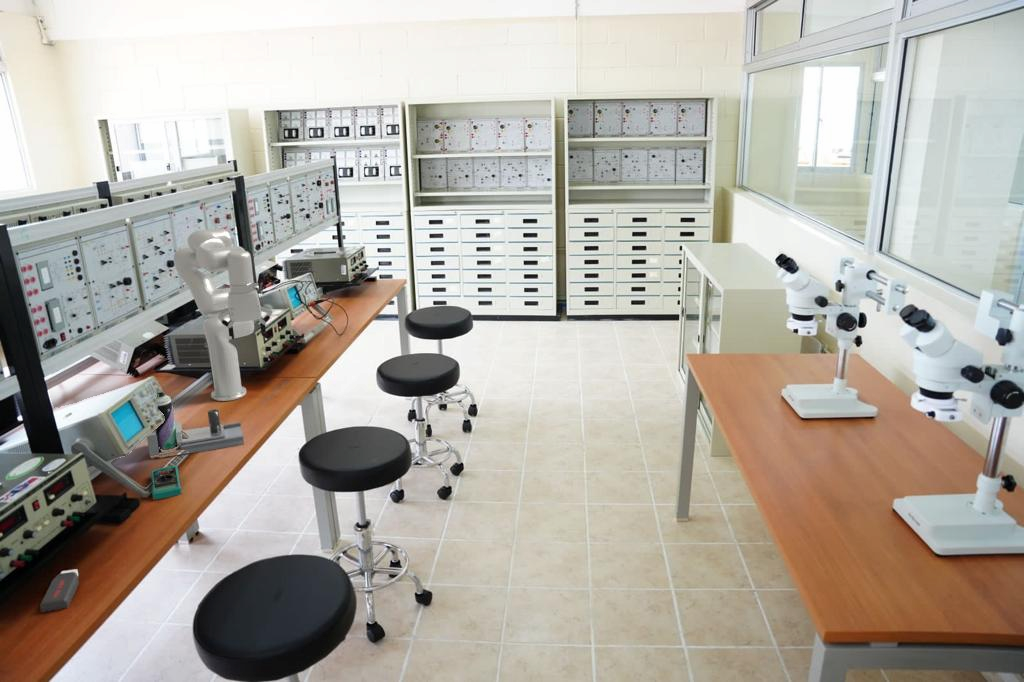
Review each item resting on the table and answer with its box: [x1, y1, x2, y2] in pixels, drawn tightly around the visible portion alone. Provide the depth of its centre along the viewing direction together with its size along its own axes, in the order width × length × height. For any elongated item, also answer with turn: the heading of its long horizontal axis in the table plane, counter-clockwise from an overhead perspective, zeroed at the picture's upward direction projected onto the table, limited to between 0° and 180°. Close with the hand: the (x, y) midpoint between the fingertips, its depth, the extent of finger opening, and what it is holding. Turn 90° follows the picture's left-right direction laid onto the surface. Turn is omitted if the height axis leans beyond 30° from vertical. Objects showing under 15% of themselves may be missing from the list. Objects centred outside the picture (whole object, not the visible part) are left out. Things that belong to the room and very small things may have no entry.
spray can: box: [155, 390, 178, 450], centre depth 217 cm, size 6×6×20 cm
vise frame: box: [146, 421, 245, 458], centre depth 223 cm, size 12×28×8 cm, turn 115°
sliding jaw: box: [175, 409, 225, 449], centre depth 223 cm, size 8×14×9 cm, turn 115°
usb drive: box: [39, 568, 80, 613], centre depth 156 cm, size 5×12×3 cm, turn 17°
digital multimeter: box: [150, 465, 182, 501], centre depth 200 cm, size 7×15×3 cm, turn 29°
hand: (247, 336), depth 234 cm, fingers open, 9 cm apart
